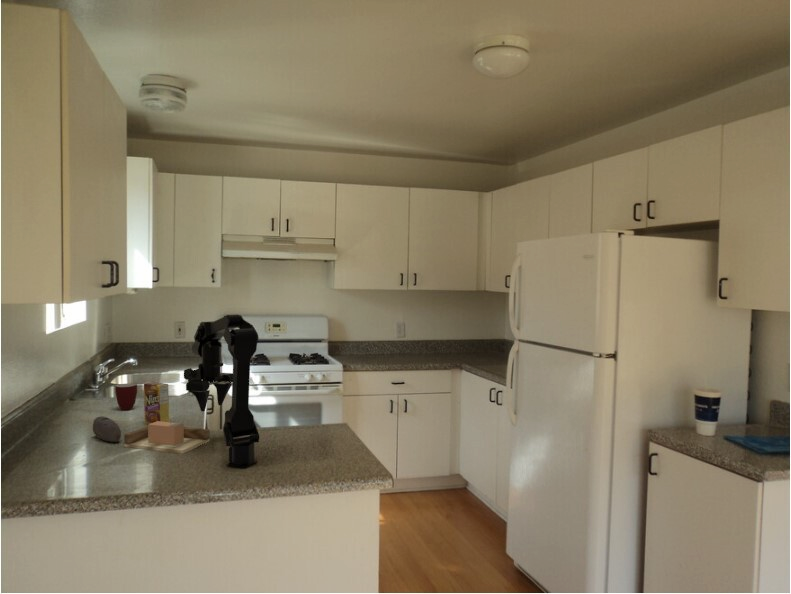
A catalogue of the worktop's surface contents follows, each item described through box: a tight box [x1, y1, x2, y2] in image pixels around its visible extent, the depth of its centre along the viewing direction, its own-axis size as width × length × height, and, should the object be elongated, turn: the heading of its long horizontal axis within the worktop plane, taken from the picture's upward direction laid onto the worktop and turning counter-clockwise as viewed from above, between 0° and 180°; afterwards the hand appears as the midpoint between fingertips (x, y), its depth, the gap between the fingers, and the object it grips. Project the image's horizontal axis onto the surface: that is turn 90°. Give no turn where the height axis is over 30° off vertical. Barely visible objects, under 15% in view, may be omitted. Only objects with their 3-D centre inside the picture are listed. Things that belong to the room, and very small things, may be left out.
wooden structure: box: [123, 426, 211, 454], centre depth 194 cm, size 22×14×4 cm, turn 72°
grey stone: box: [92, 416, 122, 443], centre depth 198 cm, size 15×5×7 cm, turn 48°
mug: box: [114, 382, 138, 412], centre depth 243 cm, size 11×8×10 cm
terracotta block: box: [147, 421, 185, 446], centre depth 191 cm, size 4×10×6 cm, turn 72°
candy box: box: [143, 381, 170, 425], centre depth 219 cm, size 9×4×15 cm, turn 60°
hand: (211, 408), depth 193 cm, fingers open, 9 cm apart
